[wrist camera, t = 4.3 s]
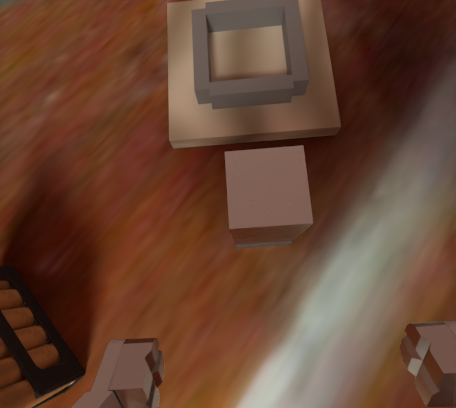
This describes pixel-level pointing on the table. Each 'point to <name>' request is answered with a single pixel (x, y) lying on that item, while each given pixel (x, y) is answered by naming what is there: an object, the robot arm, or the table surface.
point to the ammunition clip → (30, 349)
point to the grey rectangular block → (267, 196)
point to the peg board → (248, 72)
